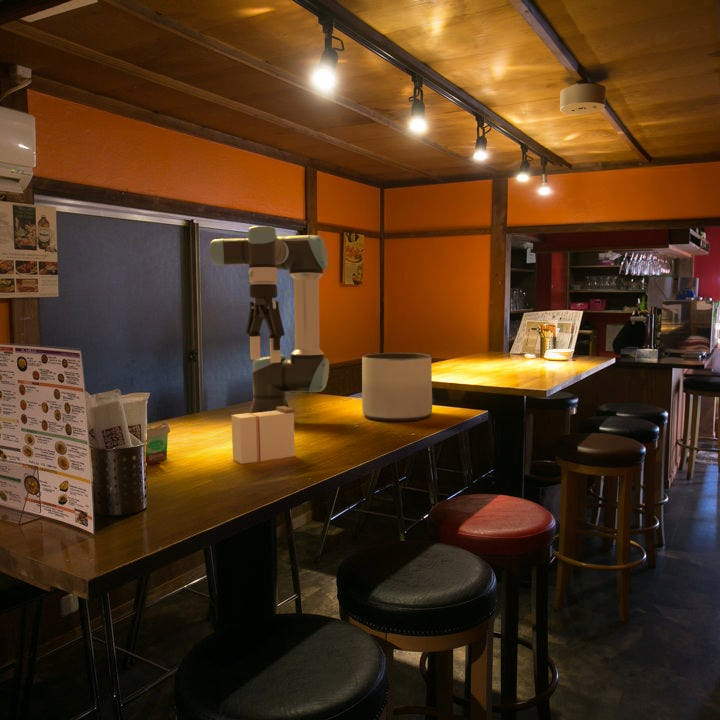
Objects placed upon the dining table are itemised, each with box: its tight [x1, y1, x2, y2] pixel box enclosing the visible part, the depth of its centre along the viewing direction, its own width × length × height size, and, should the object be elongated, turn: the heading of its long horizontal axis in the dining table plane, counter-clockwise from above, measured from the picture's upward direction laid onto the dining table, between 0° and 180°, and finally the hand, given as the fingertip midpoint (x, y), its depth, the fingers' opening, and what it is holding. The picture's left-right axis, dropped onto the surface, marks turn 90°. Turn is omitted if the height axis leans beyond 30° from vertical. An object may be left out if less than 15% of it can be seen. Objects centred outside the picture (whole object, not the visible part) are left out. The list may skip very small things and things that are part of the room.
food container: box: [146, 421, 171, 467], centre depth 178 cm, size 12×6×10 cm, turn 148°
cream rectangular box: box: [251, 406, 296, 462], centre depth 181 cm, size 6×10×13 cm, turn 122°
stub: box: [231, 412, 260, 465], centre depth 177 cm, size 6×5×12 cm
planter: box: [361, 352, 433, 422], centre depth 242 cm, size 25×25×22 cm
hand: (265, 361), depth 185 cm, fingers open, 13 cm apart
